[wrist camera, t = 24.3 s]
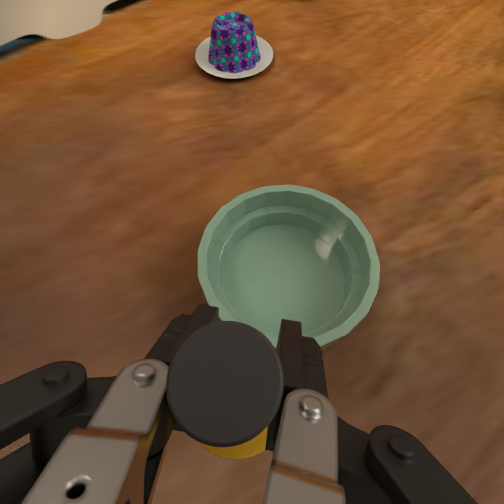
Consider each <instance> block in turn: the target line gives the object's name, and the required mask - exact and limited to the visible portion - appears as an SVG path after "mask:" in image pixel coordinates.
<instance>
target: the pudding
mask: <svg viewBox="0 0 504 504" xmlns="http://www.w3.org/2000/svg"><path fill="white" fill-rule="evenodd" d="M272 58H273V51H272V48H271V46H270V45H269V44H268V43H267V42H266V41H265V40H264V39H262V38H261V37H258V36H256V34H255V29H254V25H253V23H252V21H251V19H250V17H249V16H247V15H242V14H241V13H239V12H233V13H229V12H227V13H223V14H222V15H221V16H217V17H216V18H215V19H214V21H213V25H212V29H211V37H209V38H207V39H206V40H204V41H203V42H202V43H201V44H200V45H199V46H198V47H197V49H196V52H195V59H196V62H197V64H198V65H199V66H200V68H202V69H203V70H204V71H206V72H207V73H209V74H212V75H214V76H218V77H222V78H244V77H249V76H252V75H255V74H257V73H259V72H261V71H263V70H264V69H265V68H267V67H268V65H269V64H270V63H271V61H272Z"/></svg>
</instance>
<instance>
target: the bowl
mask: <svg viewBox="0 0 504 504" xmlns="http://www.w3.org/2000/svg"><path fill="white" fill-rule="evenodd" d="M197 267H198V280H199V282H200V285H201V287H202V290H203V293H204V295H205V298H206V301H207V303H208V305H209V306H215V307H218V308H219V315H218V321H237V322H242V323H245V324H247V325H250V326H252V327H254V328H255V329H257V330H258V331H260V332H261V333H262V334H264V335H265V336H266V337H267V338H268V339H269V341H270V342H271V343H272V345H273V346H274V347H275V349H276V347H277V342H278V336H279V330H280V325H281V320H282V319H287V320H293V321H299V322H301V324H302V336H306V337H311V338H314V339H315V340H316V341H317V343H318V344H319V346H320V347H321V351H323V350H325V349H328V348H330V347H332V346H333V345H335V344H336V343H337V342H338V341H340V340H341V339H342V338H343V337H344V336H346V335H347V334H348V333H349V332H350V331H351V330H352V329H353V328H354V327H355V326H356V325H357V324H358V323H359V322H360V321H361V320H362V319H363V318H364V317H365V316H366V315H367V313H368V312H369V309H370V307H371V305H372V303H373V300H374V298H375V296H376V293H377V291H378V288H379V270H380V262H379V258H378V255H377V252H376V248H375V245H374V242H373V239H372V236H371V235H370V233H369V232H368V231H367V229H366V228H365V226H364V225H363V223H362V222H361V220H360V219H359V218H358V216H357V215H356V214H355V213H353V212H352V211H351V210H350V209H348V208H347V207H346V206H345V205H343V204H342V203H341V202H340V201H339V200H337V199H335V198H333V197H331V196H329V195H326V194H324V193H322V192H320V191H318V190H315V189H312V188H306V187H301V186H295V185H275V186H263V187H260V188H257V189H254V190H251V191H249V192H246V193H243V194H240V195H239V196H237V197H236V198H234V199H233V200H231V201H230V202H229V203H227V204H226V205H224V206H223V207H221V208H220V209H219V211H218V212H217V213H216V214H215V216H214V217H213V218H212V220H211V221H210V222H209V223H208V225H207V226H206V228H205V230H204V233H203V236H202V239H201V242H200V245H199V248H198V252H197Z"/></svg>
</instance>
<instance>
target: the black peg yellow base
mask: <svg viewBox="0 0 504 504" xmlns="http://www.w3.org/2000/svg"><path fill="white" fill-rule="evenodd" d="M283 389H284V374H283V368H282V363H281V360H280V358H279V355H278V353H277V351H276V349H275V347H274V346H273V345H272V343H271V342H270V341H269V339H268V338H267V337H266V336H265V335H264V334H262V333H261V332H260V331H258V330H257V329H255V328H254V327H252V326H250V325H247V324H245V323H242V322H237V321H218V322H213V323H210V324H207V325H205V326H203V327H200V328H199V329H197V330H196V331H194V332H193V333H192V334H190V335H189V336H188V337H187V338H186V339H185V340H184V341H183V342H182V343H181V345H180V346H179V347H178V349H177V350H176V352H175V354H174V356H173V358H172V360H171V362H170V366H169V369H168V374H167V381H166V392H167V399H168V404H169V407H170V410H171V412H172V415H173V417H174V419H175V420H176V422H177V423H178V425H179V426H180V427H181V428H182V429H183V431H184V432H185V433H187V434H188V435H189V436H190V437H192V438H193V439H195V440H196V441H198V442H199V443H200V444H201V445H202V446H203V447H204V448H205V449H207V450H208V451H210V452H211V453H213V454H215V455H218V456H220V457H224V458H228V459H244V458H248V457H252V456H254V455H257V454H259V453H261V452H262V451H264V450H266V449H265V447H266V436H267V426H268V425H269V424H270V422H271V421H272V420H273V418H274V416H275V415H276V413H277V411H278V408H279V406H280V403H281V400H282V396H283Z"/></svg>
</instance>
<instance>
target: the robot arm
mask: <svg viewBox="0 0 504 504" xmlns="http://www.w3.org/2000/svg"><path fill="white" fill-rule="evenodd" d="M218 315H219V308H218V307H215V306H209V305H203V304H199V305H198V306H197V308H196V309H195V311H194V313H193V314H192V316H190V315H185V314H182V315H181V316H179V317H177V318H175V319H174V320H172V321H171V323H170V324H169V326H168V327H167V328H166V330H165V331H164V332H163V334H162V336H161V337H160V338H159V339H158V341H157V342H156V343H155V345H154V346H153V347H152V349H151V350H150V351H149V353H148V354H147V356H146V357H145V358H144V359H141V360H136V361H133V362H131V363H129V364H127V365H126V366H124V367H123V368H122V369H121V370H120V372H119V373H118V375H117V376H113V377H98V378H87V372H86V369H85V367H84V366H83V365H82V364H80V363H77V362H74V361H59V362H54V363H50V364H47V365H44V366H42V367H40V368H38V369H35V370H33V371H31V372H28V373H26V374H24V375H22V376H19V377H17V378H15V379H13V380H10V381H8V382H6V383H4V384H1V385H0V449H2V448H4V447H6V446H7V445H9V444H11V443H13V442H14V441H16V440H18V439H19V438H21V437H23V436H25V435H26V434H28V433H29V434H30V442H29V443H27V444H26V445H24V446H22V447H21V448H19V449H17V450H16V451H14V452H12V453H11V454H9V455H7V456H6V457H4V458H2V459H1V460H0V504H151V502H152V498H153V495H154V492H155V488H156V485H157V481H158V478H159V474H160V471H161V467H162V464H163V460H164V457H165V453H166V446H167V442H168V440H169V437H170V435H171V433H172V431H173V430H177V431H182V432H183V429H182V428H181V427H180V426H179V425H178V423H177V422H176V420H175V419H174V417H173V415H172V412H171V410H170V407H169V404H168V399H167V392H166V381H167V374H168V369H169V366H170V362H171V360H172V358H173V356H174V354H175V352H176V350H177V349H178V347H179V346H180V345H181V343H182V342H183V341H184V340H185V339H186V338H187V337H188V336H189V335H190V334H192V333H193V332H194V331H196V330H197V329H199V328H200V327H203V326H205V325H207V324H210V323H213V322H218ZM276 351H277V353H278V355H279V358H280V360H281V363H282V368H283V374H284V389H283V396H282V400H281V403H280V406H279V408H278V411H277V413H276V415H275V416H274V418H273V420H272V421H271V422H270V424H269V425H268V426H267V436H266V447H265V449H266V450H270V451H273V459H272V462H271V467H270V472H269V476H268V481H267V486H266V491H265V495H264V500H263V504H477V502H476V501H475V500H474V499H473V498H472V497H471V496H470V495H469V494H468V493H467V492H466V491H465V490H464V488H463V487H462V486H461V485H460V484H459V483H458V482H457V481H456V480H455V479H454V478H453V477H452V476H451V474H450V473H449V472H448V471H447V470H446V469H445V468H444V467H443V466H442V465H441V464H440V463H439V461H438V460H437V459H436V458H435V457H434V456H433V455H432V454H431V453H430V452H429V451H428V450H427V449H426V447H425V446H424V445H423V444H422V443H421V442H420V441H419V440H418V439H416V438H415V437H414V436H413V435H411V434H410V433H408V432H406V431H404V430H402V429H400V428H397V427H394V426H389V425H382V426H378V427H376V428H374V429H373V430H372V431H371V433H370V434H368V433H366V432H364V431H362V430H359V429H357V428H355V427H353V426H351V425H349V424H348V423H346V422H345V421H343V420H342V419H341V418H340V417H339V416H338V415H337V411H336V408H335V406H334V405H333V403H332V402H331V401H330V400H329V399H328V394H327V387H326V380H325V373H324V368H323V359H322V352H321V347H320V346H319V344H318V343H317V341H316V340H315V339H314V338H311V337H306V336H302V324H301V322H299V321H293V320H287V319H282V320H281V325H280V330H279V336H278V342H277V347H276Z"/></svg>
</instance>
